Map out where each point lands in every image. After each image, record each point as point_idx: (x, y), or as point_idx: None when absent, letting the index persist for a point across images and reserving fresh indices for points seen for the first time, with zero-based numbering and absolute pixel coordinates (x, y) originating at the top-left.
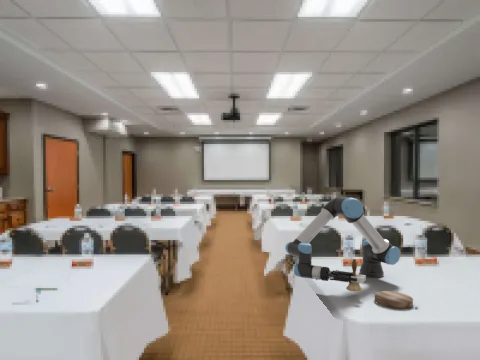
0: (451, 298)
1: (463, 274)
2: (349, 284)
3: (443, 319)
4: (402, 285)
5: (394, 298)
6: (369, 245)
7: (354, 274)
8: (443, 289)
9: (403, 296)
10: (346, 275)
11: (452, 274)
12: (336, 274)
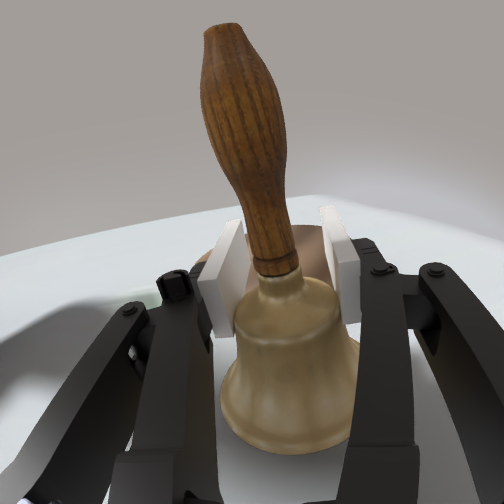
0: (165, 231)
1: (20, 256)
2: (333, 382)
3: (346, 207)
4: (54, 301)
5: (297, 249)
6: None
7: (292, 235)
8: (97, 250)
9: (247, 244)
10: (202, 376)
11: (14, 263)
12: (411, 492)
